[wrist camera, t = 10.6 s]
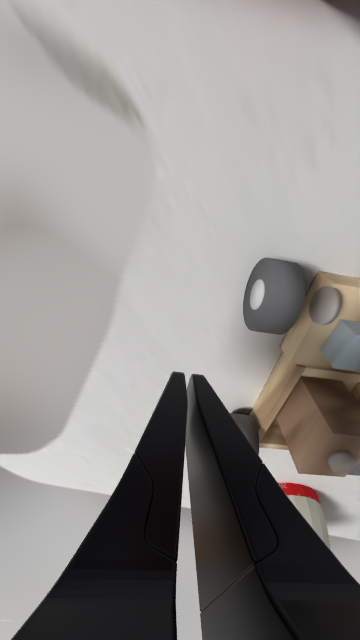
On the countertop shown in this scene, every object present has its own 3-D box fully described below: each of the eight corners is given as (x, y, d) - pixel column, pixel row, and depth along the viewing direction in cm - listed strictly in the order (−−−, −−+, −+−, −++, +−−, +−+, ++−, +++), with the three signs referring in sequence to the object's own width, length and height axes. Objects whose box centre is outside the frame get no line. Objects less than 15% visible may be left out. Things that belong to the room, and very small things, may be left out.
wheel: (284, 252, 17) (317, 281, 13) (259, 310, 20) (281, 349, 16) (258, 247, 17) (284, 275, 13) (237, 307, 20) (253, 345, 16)
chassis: (470, 287, 19) (552, 322, 15) (333, 439, 31) (359, 484, 26) (300, 254, 18) (340, 284, 14) (221, 429, 29) (229, 475, 25)
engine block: (342, 381, 24) (393, 448, 19) (313, 418, 28) (349, 486, 22) (299, 375, 24) (338, 443, 18) (275, 414, 27) (302, 483, 21)
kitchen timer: (217, 494, 38) (239, 660, 25) (309, 473, 35) (385, 649, 23) (243, 526, 45) (270, 668, 32) (321, 510, 42) (384, 660, 30)
